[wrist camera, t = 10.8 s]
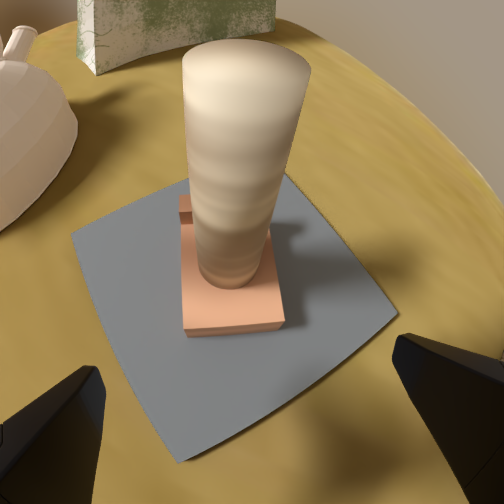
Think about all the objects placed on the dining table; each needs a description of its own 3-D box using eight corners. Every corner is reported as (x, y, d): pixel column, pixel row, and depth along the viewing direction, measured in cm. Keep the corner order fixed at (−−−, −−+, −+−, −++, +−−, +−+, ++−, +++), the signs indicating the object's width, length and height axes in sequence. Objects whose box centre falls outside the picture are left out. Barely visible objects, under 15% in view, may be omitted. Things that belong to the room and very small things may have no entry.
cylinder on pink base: (277, 330, 16) (398, 154, 5) (187, 337, 16) (116, 153, 4) (260, 222, 20) (304, 27, 8) (183, 226, 19) (164, 23, 8)
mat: (392, 316, 18) (398, 312, 17) (179, 460, 13) (177, 463, 12) (261, 156, 24) (262, 149, 23) (74, 239, 18) (70, 233, 18)
